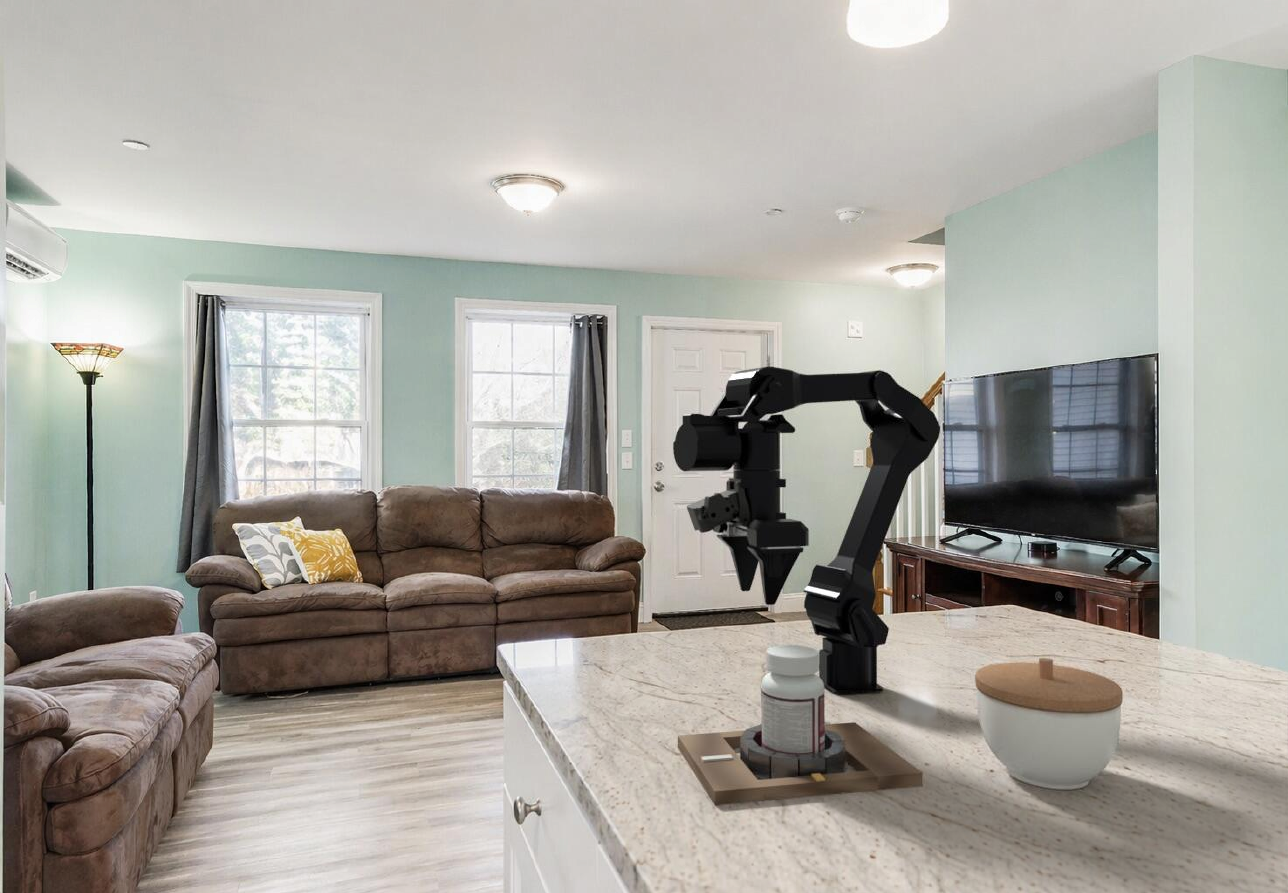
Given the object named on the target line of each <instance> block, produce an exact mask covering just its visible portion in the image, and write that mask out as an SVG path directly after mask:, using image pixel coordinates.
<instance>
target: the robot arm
mask: <svg viewBox="0 0 1288 893" xmlns="http://www.w3.org/2000/svg"><path fill="white" fill-rule="evenodd" d="M853 401H854V402H856V404H857V405H858V407H859V411H860V415H861V417H862V421H863V422H864V424H865V425H866V426H867V427H868V428H869V429H870V431H872V433H871V437H870V442H869V445H870V451H871V457H872V465H871V468H870V471H869V473H868V474H867V478H866V481H864V482H865V483H864V485H863V488H862V491H861V492H860V496H859V498H858V500H857V502H856V503H857V504H856V506H855V508H854V511H853V514H852V516H851V518H850V520H849V523H848V527H847V529H846V532H845V534H844V535H843V539H842V541H841V543H840V547H839V550H838V552H837V553H836V556H835V558H834V559H833V560H832V561H830V563H828V564H827V565H824V564H819V563H817V564H815V565H814V567H813V569H812V573H811V575H810V576H811V577H810V580H809V582H808V584H807V586H806V587H805V588H804V589H803V593H805V598H804V602H803V608H804V609H805V611H806V612H805V613H806V615H807V617H808V619H809V620H810V622H811V625H812V628H813V632H814V635H816V636H822V649H819V651H818V653H819V671H818V677H820V679H821V680H822V681H823V684H824V687H826V688H827V689H829V690H830V691H831V692H833V693H834V694H837V695H846V694H847V695H849V694H861V693H862V694H863V693H877V692H879V693H880V692H883V691H884V687H883V686H882V685H880V684H878V646H879V647H880V646H883V645H886V643H887V639H888V635H889V631H890V628H889V626H887V624H886V623H885V622H884V621H883V619H882V618H881V617H880V616H879V615H878V614H877V612H875V610H874V606H875V600H876V596H877V593H876V587H875V580H874V574H873V572H874V569H875V565H876V563H877V560H878V558H879V555H880V553H881V550H882V548H883V544H884V542H885V539H886V536H887V534H888V531H889V529H890V526H891V524H892V521H893V519H894V516H895V513H896V510H897V507H898V506H899V503H900V500H901V498H902V494H903V492H904V490H905V487H906V485H907V482H908V480H909V477H910V475H911V474H912V472H913V471H915V470H916V469H917V468H918V467H920V465H922V464H923V463H924V462H925V461H926V460H927V459H928V458H929V456H930V454H931V453H932V451H933V449H934V447H935V445H936V444H937V442H938V440H939V437H940V434H941V433H940V432H941V425H940V424H939V423H940V422H939V420H938V419H937V416H936V415H935V413H934V411H933V410H931V409H930V408H928V406H927V405H926V404H925V402H924V401H923V400H922V398H920V397H919V396H917V395H915V394H914V393H913V392H911V391H910V390H908V389H906V388H905V387H903V386H901V385H900V384H898V382H897V381H896V380H895V378H893V376H892V375H891V374H890V373H889V372H886V371H884V370H881V369H879V370H870V371H862V372H861V371H860V372H846V373H845V372H844V373H819V374H816V373H815V374H805V373H799V372H796V371H794V370H792V369H787V368H781V367H775V366H768V365H767V366H762V367H761V366H760V367H756V368H749V369H743V370H739V371H735V372H733V373H732V374H731V376H730V377H729V379H728V380H727V383H726V385H725V392H724V393H723V395H722V396H721V398H720V399H719V401H718V403H717V404H716V405H715V407H714V409H713V411H712V412H711V413H710V415H706V414H705V415H704V414H701V413H685V414H682V424H680V426H679V427H678V429H677V432H676V434H675V439H674V441H673V443H672V444H673V445H672V450H673V451H672V452H673V458H674V461H675V464H676V466H677V467H678V468H679V469H680V471H683V472H720V471H721V472H724V471H725V472H726V471H729V470H730V469H732V468H733V472H732V473H733V476H732V477H729V478H728V480H727V481H726V482H725V483H726V485H725V486H726V487H725V488H726V489H725V490H724V491H721V492H715V493H714V494H713V495H709V496H708V495H707V496H704V498H702V499H700V500H698V501H695V502H692V503H690V504H688V505H686V510H687V512H688V515H689V518H690V521H691V523H692V526H693V529H694V531H699V532H700V533H702V534H705V533H707V532H711V531H712V532H714V533H717V534H716V537H717V539H719V540H720V541H721V542H722V543H723V544H724V545H725V546H727V547H728V548H729V550H730V555H731V558H732V561H733V566H734V568H735V573H736V576H737V581H738V584H739V589H740V590H741V591H742V592H749V591H751V588H752V586H753V581H754V579H755V575H756V572H757V569H758V566H759V572H760V578H761V585H762V586H761V587H762V593H763V600H764V603H765V605H767V606H774V605H776V603H777V600H778V598H779V596H780V595H781V592H782V590H783V588H784V586H785V584H786V581H787V579H788V577H789V575H790V573H791V572H792V569H793V567H794V565H795V564H796V562H797V560H798V558H799V556H800V554H801V553H803V552H804V547H807V546H809V545H810V544H809V543H810V542H809V541H810V539H809V538H810V534H809V533H810V532H809V530H810V529H809V528H808V527H807V526H806V525H805V523H803V522H802V521H801V520H797V519H791V518H787V513H786V512H782V511H781V488H787V479H786V478H781V434H794V433H795V432H796V428H795V426H793V424H792V423H790V422H789V421H788V420H786V418H785V416H784V415H783V414H782V413H783V412H785V411H788V410H792V409H795V408H798V407H799V406H802V405H805V404H817V403H821V404H822V403H833V402H834V403H835V402H836V403H837V402H853ZM880 403H881V404H880ZM882 405H883V406H882ZM884 407H885V408H887V409H885V408H884ZM778 413H779V414H778ZM780 413H781V414H780ZM766 415H770V416H769V418H767V419H762V418H764V417H766ZM740 423H745V424H744V425H743V426H742V427H741V428H740V427H739V426H740V425H739V424H740Z"/></svg>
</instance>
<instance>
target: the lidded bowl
mask: <svg viewBox="0 0 1288 893" xmlns="http://www.w3.org/2000/svg"><path fill="white" fill-rule="evenodd" d="M974 681H975V682H974V684H975V687H976V705H977V706H976V708H977V715H978V720H979V725H980V730H981V734H982V736H983V738H984V741H985V743H986V745H987V746H988V749H989V750H990V752H992V754H993V755H994V757H995V758H996V759H997V760H998V761H999V762H1000V763H1001V764H1002V765H1003V766H1005V771H1006V772H1007V774H1009V776H1011V777H1012V778H1014V779H1015V780H1018V781H1020V782H1022V783H1025V784H1028V785H1031V786H1034V787H1038V788H1043V789H1049V790H1050V789H1051V790H1057V791H1059V790H1061V791H1073V790H1080V789H1083V788H1085V787H1087V786H1088V785H1089V784H1090V780H1092V779H1094V778H1095V777H1097V776H1098V775H1100V773H1101V772H1102V771H1104V770H1105V769H1106V768H1107V767H1108V765H1109V764H1110V762H1111V761H1112V759H1113V757H1114V755H1115V752H1116V750H1117V746H1118V742H1119V738H1120V733H1121V732H1120V731H1121V724H1122V722H1121V721H1122V703H1123V700H1124V699H1123V698H1124V697H1123V696H1124V695H1123V688H1122V687H1121V686H1120V685H1119V683H1117V682H1116V681H1114V680H1112V679H1111V678H1108V677H1106V676H1103V675H1100V674H1097V673H1094V672H1092V671H1087V670H1082V669H1079V668H1075V667H1070V666H1069V667H1068V666H1064V665H1063V666H1062V665H1057V664H1054V659H1052V658H1048V657H1040V658H1038V662H1037V663H1036V662H1004V663H1003V662H1002V663H1001V662H999V663H995V664H994V663H993V664H988V665H986V666H983V667H981V668H979V669H977V670H976V672H975V674H974ZM1077 788H1078V789H1077Z"/></svg>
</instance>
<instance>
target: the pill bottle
mask: <svg viewBox="0 0 1288 893" xmlns="http://www.w3.org/2000/svg"><path fill="white" fill-rule="evenodd" d="M765 655H766V656H765V657H766V658H765V659H766V660H765V666H766V670H768V671H769V672H768V673H766V674H765V675H764V677H763V678H762V681H761V687H760V692H761V693H760V696H761V697H760V699H761V702H760V703H761V724H762V748H765V749H768V750H770V751H773V752H776V753H785V754H793V755H803V754H815V753H820V752H822V751H824V750H825V724H826V723H825V722H826V721H825V720H826V719H825V686H824V684H823V681H822V680H821V679H820V677H819V675H817V674H816V673H819V651H818V650H817V649H815V648H812V647H809V646H806V645H805V646H804V645H798V644H781V645H779V644H778V645H773V646H770V647H769V648H767V649H766V654H765Z"/></svg>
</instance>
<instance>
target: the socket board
mask: <svg viewBox="0 0 1288 893" xmlns="http://www.w3.org/2000/svg"><path fill="white" fill-rule="evenodd" d="M677 748H678V750H679V752H680V753H681V754H682V756H683V757H684V759H685V761H686V763H687V764H688V766H689V767H690V769H691V770H692V772H693V774H694V775H695V776H696V778H697V780H698V781H699V783H700V784H701V785H702V787H703V788H704V790H705V792H706V793H707V795H708V796H709V798H710V800H711V801H712V802H713V805H715V806H717V805H719V806H720V805H728V804H729V805H730V804H738V803H741V804H742V803H751V802H760V801H771V800H780V799H781V800H782V799H783V800H784V799H791V798H792V799H793V798H795V799H796V798H803V797H805V798H806V797H813V796H814V797H815V796H826V795H835V794H836V795H837V794H838V795H839V794H846V793H857V792H858V793H859V792H868V791H869V792H870V791H878V790H888V789H890V790H891V789H900V788H901V789H902V788H911V787H912V788H913V787H922V786H923V784H924V780H923V778H924V777H923V771H921V770H920V769H919V768H917V767H916V766H914V765H913V764H912V763H910V762H909V761H908V760H906V759H905V758H904V757H902V756H901V755H900V754H898V753H897V752H896V751H894V750H893V749H891V748H890V747H889V746H887V745H886V744H885V743H883V742H882V741H881V740H880V739H878V738H876V737H875V736H874V735H873V734H871V733H870V732H869V731H867V730H866V729H865V728H863V727H862V726H860V725H859V724H858V723H857V722H855V721H854V722H841V723H839V722H838V723H830V724H829V723H827V724H826V723H825V750H824V751H822V752H820V753H815V754H803V755H793V754H785V753H776V752H773V751H770V750H768V749H765V748H762V723H761V724H758V725H755V726H752V727H750V728H746V729H745V730H733V731H723V732H706V733H705V732H704V733H695V734H693V733H692V734H681V735H677ZM734 749H739V755H738V754H737V752H736V751H735V750H734ZM846 763H847V764H848V765H849V767H851V768H852V769H853V770H855V771H847V772H845V771H846V766H847V764H846Z"/></svg>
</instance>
